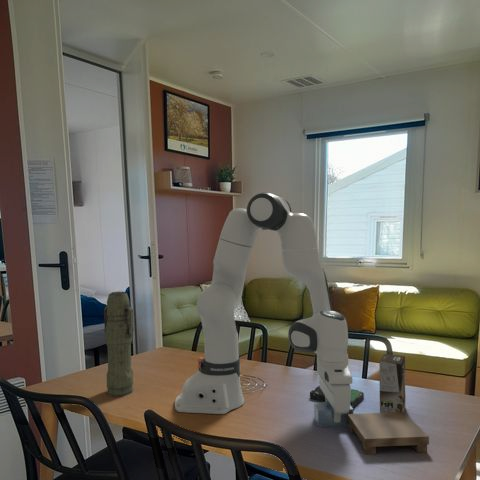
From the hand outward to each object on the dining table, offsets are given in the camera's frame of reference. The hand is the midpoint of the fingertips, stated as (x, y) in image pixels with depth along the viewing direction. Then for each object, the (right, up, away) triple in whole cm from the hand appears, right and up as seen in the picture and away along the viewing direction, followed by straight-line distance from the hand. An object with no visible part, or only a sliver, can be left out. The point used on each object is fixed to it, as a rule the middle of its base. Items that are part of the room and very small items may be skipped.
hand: (333, 415), depth 119 cm
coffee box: (+20, -2, +7) cm, 21 cm away
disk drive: (+5, -2, +17) cm, 18 cm away
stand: (+11, -2, -11) cm, 16 cm away
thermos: (-69, -3, +26) cm, 74 cm away
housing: (0, -2, 0) cm, 2 cm away
